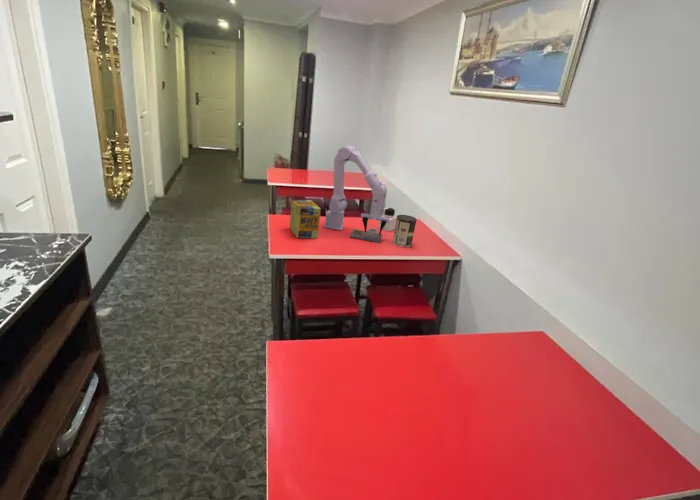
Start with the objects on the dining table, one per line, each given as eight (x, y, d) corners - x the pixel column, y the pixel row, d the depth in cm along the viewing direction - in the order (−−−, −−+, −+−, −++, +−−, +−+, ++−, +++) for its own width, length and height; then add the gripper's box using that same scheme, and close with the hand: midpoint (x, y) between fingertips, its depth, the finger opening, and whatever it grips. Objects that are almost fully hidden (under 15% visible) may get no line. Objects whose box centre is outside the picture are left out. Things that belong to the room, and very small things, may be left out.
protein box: (297, 238, 186) (300, 208, 180) (289, 228, 199) (291, 199, 193) (317, 238, 191) (321, 208, 185) (308, 227, 203) (311, 199, 198)
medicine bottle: (394, 229, 221) (398, 209, 216) (388, 231, 215) (392, 211, 211) (383, 225, 224) (387, 206, 220) (377, 228, 218) (381, 208, 214)
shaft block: (349, 237, 198) (350, 231, 196) (353, 230, 209) (354, 224, 207) (379, 243, 196) (381, 236, 194) (382, 235, 207) (383, 229, 205)
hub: (366, 237, 199) (367, 230, 198) (367, 234, 204) (368, 227, 203) (376, 238, 198) (377, 232, 197) (377, 235, 203) (378, 229, 202)
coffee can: (408, 240, 206) (413, 215, 200) (414, 247, 196) (419, 221, 191) (389, 239, 204) (394, 213, 198) (395, 246, 194) (400, 220, 189)
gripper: (361, 207, 193) (357, 232, 198) (389, 212, 191) (385, 237, 196) (363, 204, 199) (359, 228, 204) (391, 209, 198) (386, 233, 203)
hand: (372, 232), depth 201 cm, fingers open, 7 cm apart
